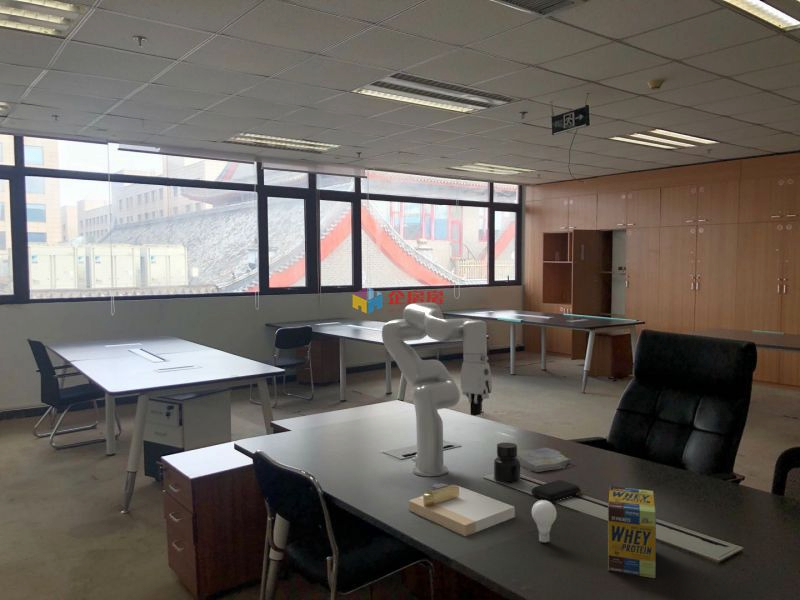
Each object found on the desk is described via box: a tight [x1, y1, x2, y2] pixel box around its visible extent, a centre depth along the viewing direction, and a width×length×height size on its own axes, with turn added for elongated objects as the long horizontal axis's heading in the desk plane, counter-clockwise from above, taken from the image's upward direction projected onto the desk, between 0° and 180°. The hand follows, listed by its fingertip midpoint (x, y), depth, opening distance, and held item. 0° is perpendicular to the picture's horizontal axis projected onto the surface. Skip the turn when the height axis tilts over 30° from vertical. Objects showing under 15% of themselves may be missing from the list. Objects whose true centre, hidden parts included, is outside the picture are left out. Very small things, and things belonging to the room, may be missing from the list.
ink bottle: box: [493, 442, 521, 484], centre depth 205 cm, size 10×9×12 cm
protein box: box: [607, 485, 657, 579], centre depth 145 cm, size 10×15×16 cm
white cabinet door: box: [407, 482, 516, 537], centre depth 176 cm, size 24×20×6 cm
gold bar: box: [422, 484, 459, 506], centre depth 178 cm, size 13×3×3 cm, turn 128°
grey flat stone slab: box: [517, 446, 573, 473], centre depth 223 cm, size 20×5×17 cm
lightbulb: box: [531, 499, 558, 544], centre depth 156 cm, size 6×6×11 cm
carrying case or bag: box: [530, 479, 582, 503], centre depth 190 cm, size 11×3×15 cm
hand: (475, 414), depth 194 cm, fingers closed
